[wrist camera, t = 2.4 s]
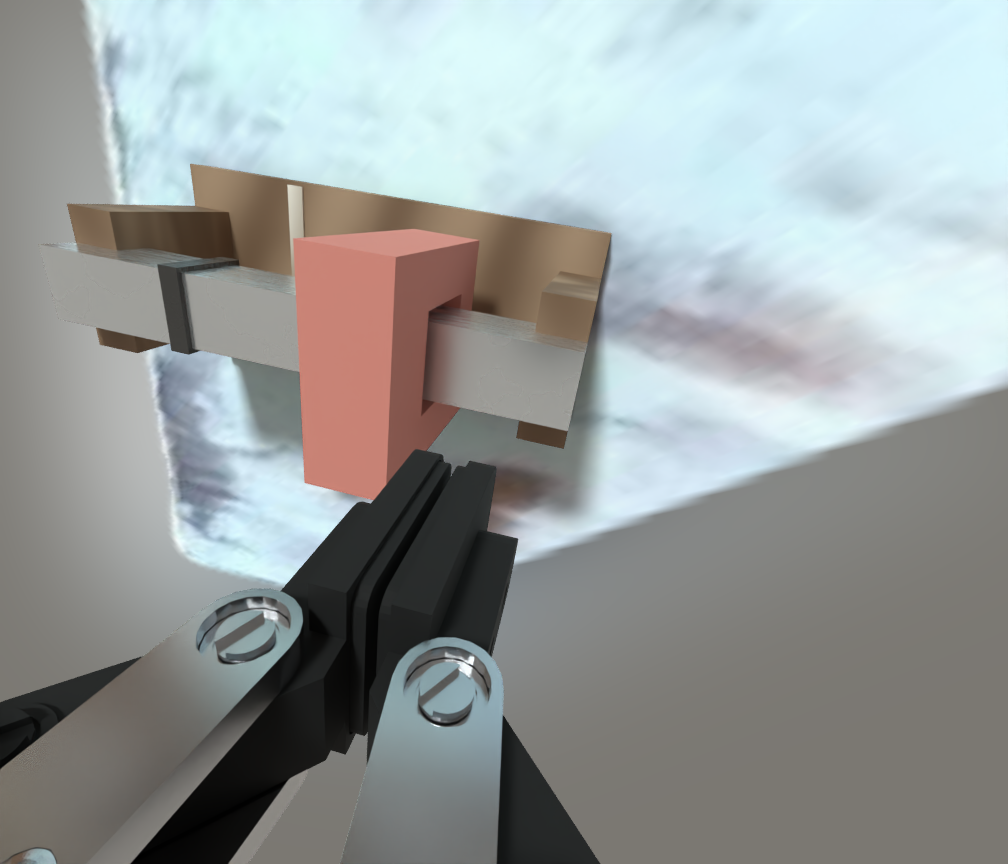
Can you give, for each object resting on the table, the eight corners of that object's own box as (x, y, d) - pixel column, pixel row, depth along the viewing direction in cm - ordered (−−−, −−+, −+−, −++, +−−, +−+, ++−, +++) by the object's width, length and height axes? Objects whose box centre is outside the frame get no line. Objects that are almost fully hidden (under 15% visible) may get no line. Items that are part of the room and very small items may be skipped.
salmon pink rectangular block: (479, 240, 21) (395, 257, 13) (460, 407, 24) (385, 503, 16) (414, 228, 21) (293, 238, 13) (404, 395, 25) (304, 482, 17)
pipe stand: (611, 233, 23) (610, 241, 16) (569, 418, 28) (554, 489, 21) (207, 165, 26) (53, 148, 19) (227, 344, 30) (109, 384, 23)
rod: (590, 327, 19) (586, 348, 16) (573, 405, 21) (566, 438, 18) (112, 235, 22) (31, 239, 19) (127, 310, 23) (54, 324, 20)
